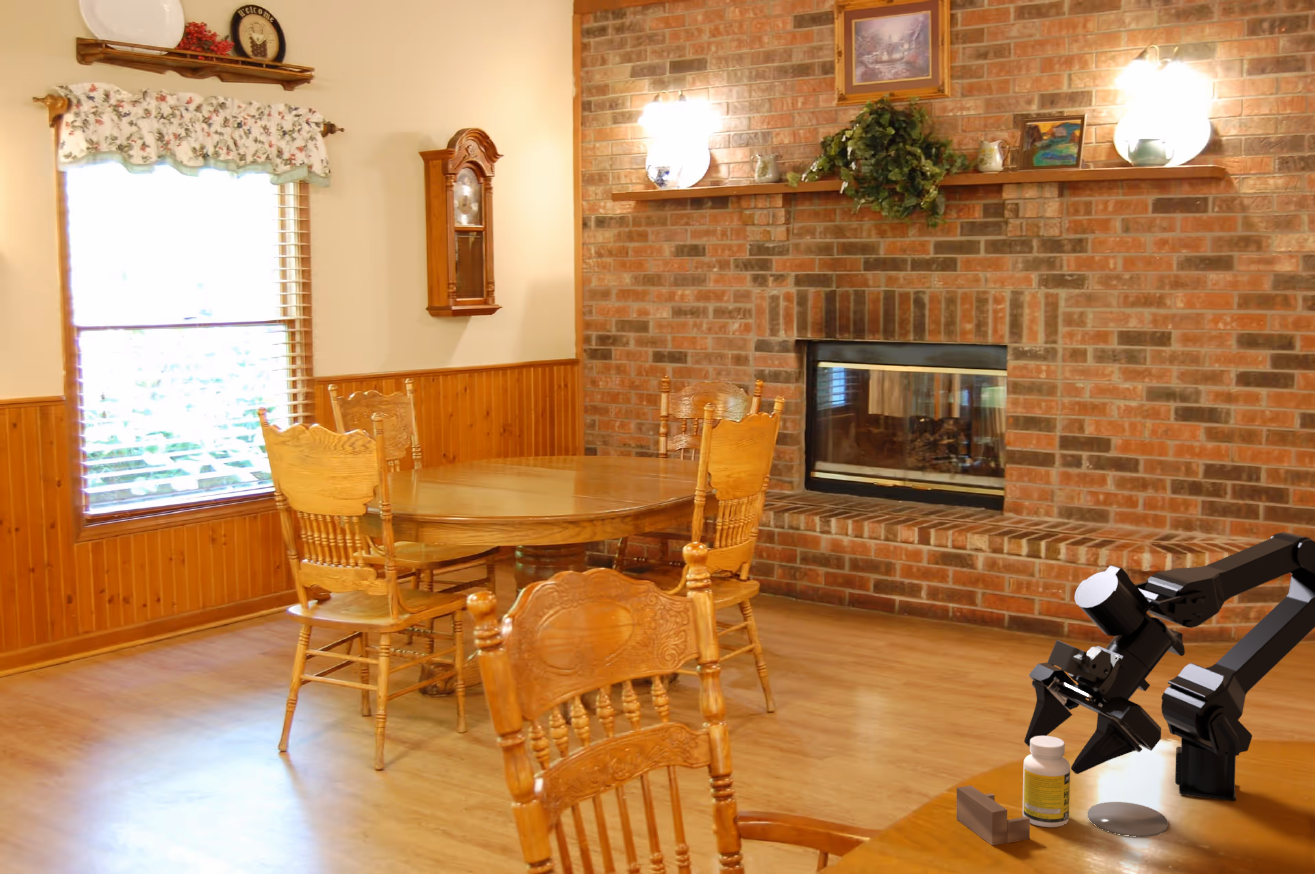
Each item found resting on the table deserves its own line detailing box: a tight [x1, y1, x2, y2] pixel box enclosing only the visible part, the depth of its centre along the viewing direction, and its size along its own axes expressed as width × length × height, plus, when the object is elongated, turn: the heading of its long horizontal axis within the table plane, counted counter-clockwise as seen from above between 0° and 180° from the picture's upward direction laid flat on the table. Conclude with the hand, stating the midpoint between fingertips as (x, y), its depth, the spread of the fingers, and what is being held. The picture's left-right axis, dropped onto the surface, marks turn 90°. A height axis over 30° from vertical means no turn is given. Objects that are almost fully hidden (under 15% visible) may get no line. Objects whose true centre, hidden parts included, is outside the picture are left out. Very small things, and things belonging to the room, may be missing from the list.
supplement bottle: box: [1022, 735, 1071, 828], centre depth 149 cm, size 5×5×10 cm
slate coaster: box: [1087, 801, 1168, 838], centre depth 149 cm, size 9×9×1 cm
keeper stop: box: [956, 785, 1031, 846], centre depth 147 cm, size 5×8×4 cm, turn 18°
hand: (1049, 757), depth 149 cm, fingers open, 9 cm apart
